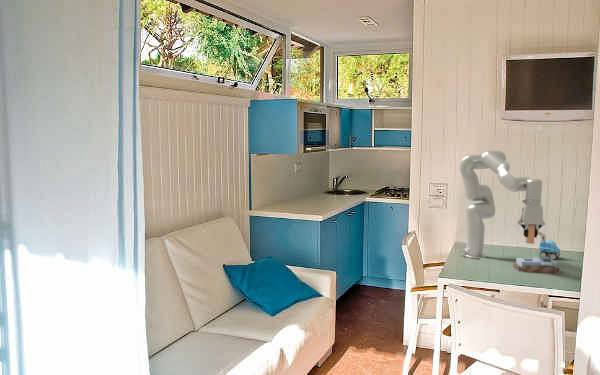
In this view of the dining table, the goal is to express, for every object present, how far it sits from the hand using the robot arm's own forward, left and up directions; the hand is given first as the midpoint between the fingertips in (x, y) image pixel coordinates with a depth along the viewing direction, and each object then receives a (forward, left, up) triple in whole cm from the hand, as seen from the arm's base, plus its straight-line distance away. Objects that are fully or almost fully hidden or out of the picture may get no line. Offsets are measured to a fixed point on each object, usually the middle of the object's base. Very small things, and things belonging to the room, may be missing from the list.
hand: (530, 236), depth 282 cm
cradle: (+4, 0, -19) cm, 20 cm away
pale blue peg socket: (+4, 0, -18) cm, 18 cm away
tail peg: (0, 0, -3) cm, 3 cm away
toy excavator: (+22, +36, -19) cm, 46 cm away
